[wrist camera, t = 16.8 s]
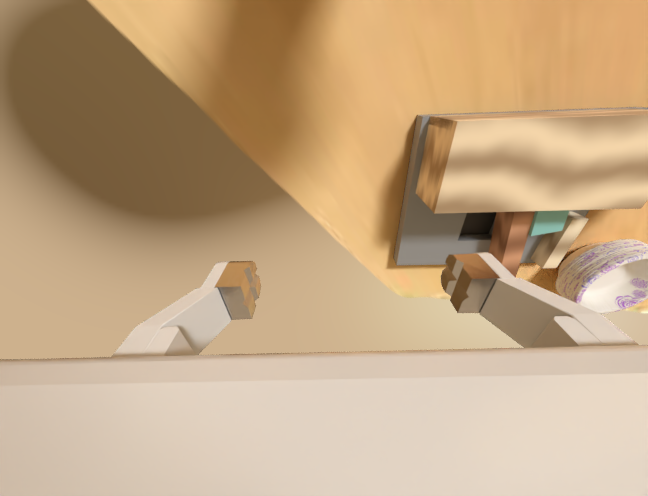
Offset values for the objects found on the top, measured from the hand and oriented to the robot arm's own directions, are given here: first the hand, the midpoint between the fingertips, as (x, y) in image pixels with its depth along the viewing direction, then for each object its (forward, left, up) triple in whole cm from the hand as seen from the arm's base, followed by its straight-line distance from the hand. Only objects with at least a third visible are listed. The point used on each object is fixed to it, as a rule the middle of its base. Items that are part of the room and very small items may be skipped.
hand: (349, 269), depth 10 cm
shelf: (+2, +27, -29) cm, 40 cm away
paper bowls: (+25, +52, -32) cm, 66 cm away
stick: (+17, +39, -29) cm, 52 cm away
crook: (+15, +33, -29) cm, 46 cm away
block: (+11, +33, -29) cm, 45 cm away
